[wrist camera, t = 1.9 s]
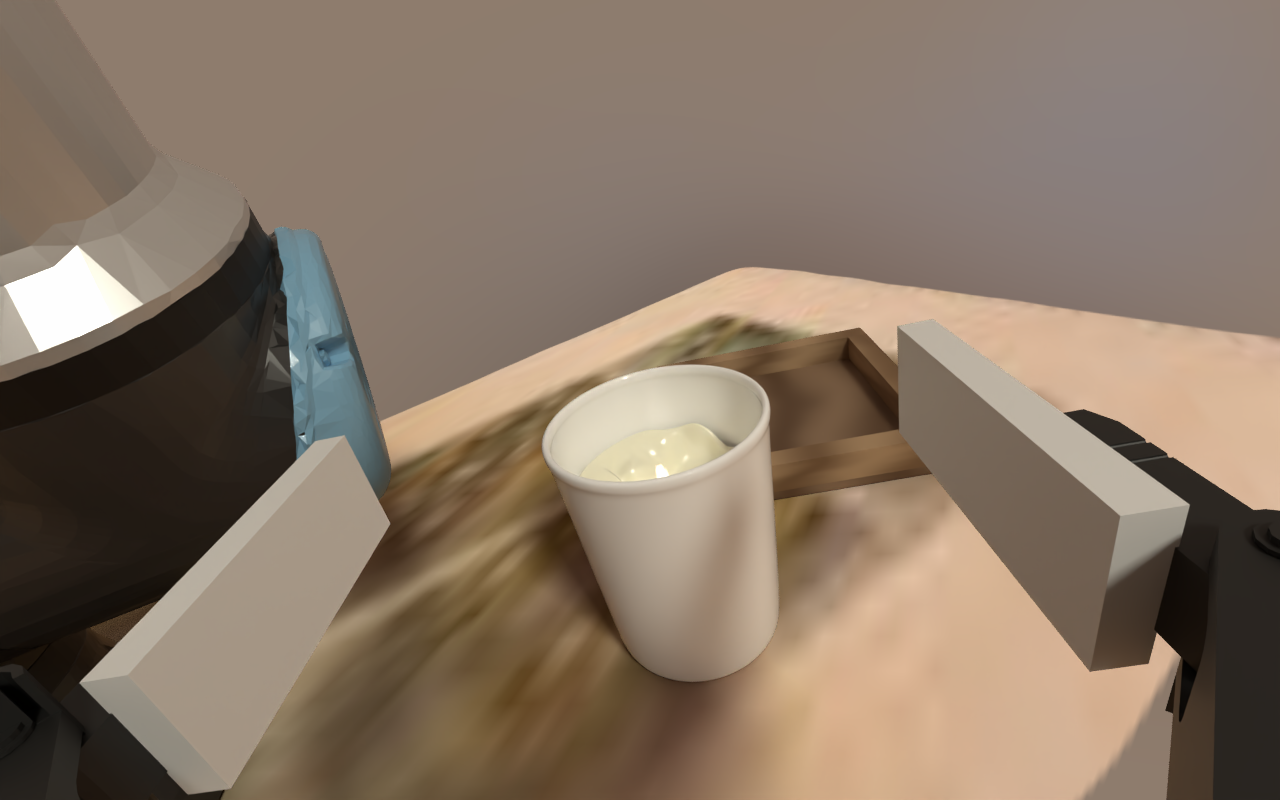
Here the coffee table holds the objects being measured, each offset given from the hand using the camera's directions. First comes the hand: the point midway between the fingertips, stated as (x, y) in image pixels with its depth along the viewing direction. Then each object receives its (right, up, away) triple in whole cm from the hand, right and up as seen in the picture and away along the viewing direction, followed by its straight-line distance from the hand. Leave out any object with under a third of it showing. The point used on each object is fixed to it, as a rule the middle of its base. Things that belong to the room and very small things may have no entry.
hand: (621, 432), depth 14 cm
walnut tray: (+11, -1, +31) cm, 33 cm away
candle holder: (+3, -10, +16) cm, 20 cm away
